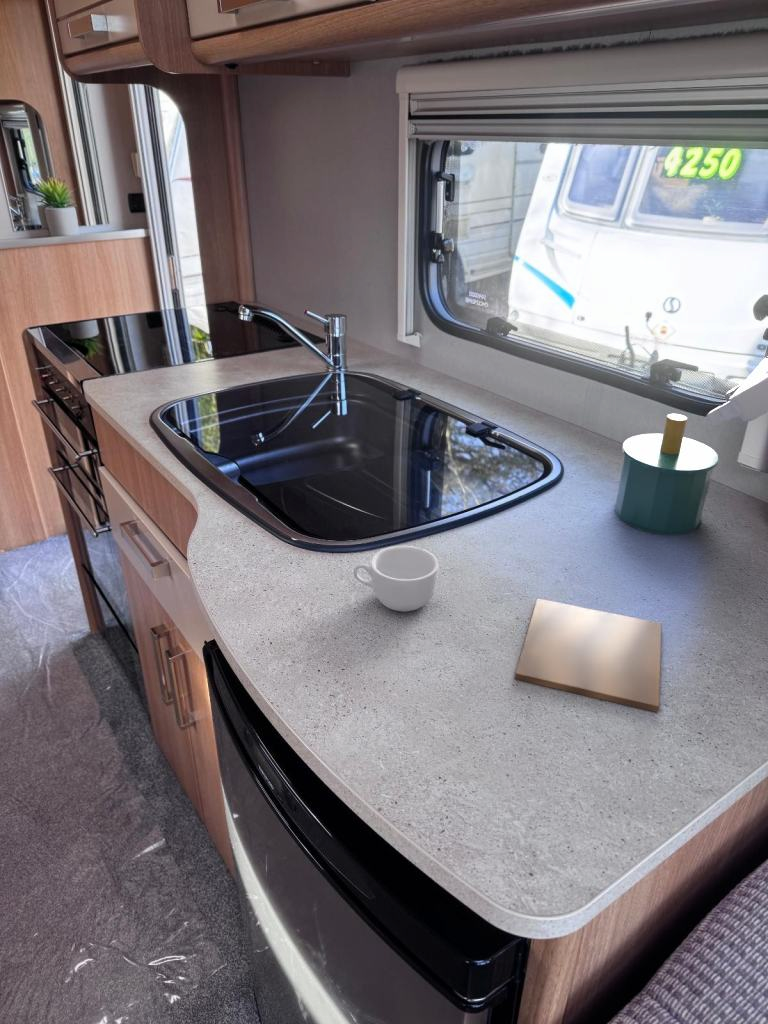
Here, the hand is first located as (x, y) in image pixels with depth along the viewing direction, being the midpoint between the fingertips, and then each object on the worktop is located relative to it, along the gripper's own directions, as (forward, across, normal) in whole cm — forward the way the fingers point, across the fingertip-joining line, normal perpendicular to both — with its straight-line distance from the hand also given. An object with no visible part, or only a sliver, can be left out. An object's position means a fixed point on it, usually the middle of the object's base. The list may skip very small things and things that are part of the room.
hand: (719, 409), depth 94 cm
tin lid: (+9, 0, -2) cm, 9 cm away
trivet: (+13, -35, -12) cm, 39 cm away
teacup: (+29, -40, +4) cm, 49 cm away
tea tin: (+16, 0, -9) cm, 18 cm away
